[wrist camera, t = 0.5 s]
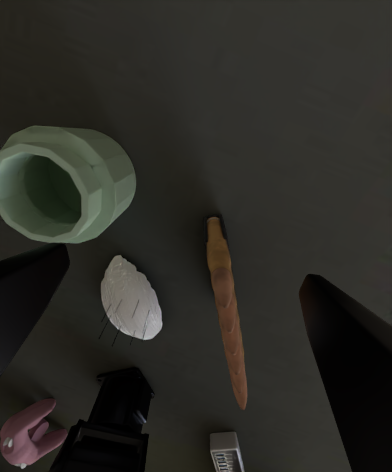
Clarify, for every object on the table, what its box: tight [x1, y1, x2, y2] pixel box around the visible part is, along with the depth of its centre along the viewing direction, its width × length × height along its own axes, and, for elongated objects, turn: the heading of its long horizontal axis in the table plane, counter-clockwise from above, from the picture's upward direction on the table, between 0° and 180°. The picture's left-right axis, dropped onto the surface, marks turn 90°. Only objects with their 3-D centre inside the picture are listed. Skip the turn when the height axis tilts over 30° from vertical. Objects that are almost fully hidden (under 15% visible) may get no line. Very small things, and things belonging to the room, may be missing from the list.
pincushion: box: [99, 255, 162, 346], centre depth 24 cm, size 12×6×6 cm, turn 12°
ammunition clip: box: [203, 214, 247, 410], centre depth 19 cm, size 11×2×12 cm, turn 11°
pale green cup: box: [0, 126, 136, 243], centre depth 17 cm, size 8×8×8 cm
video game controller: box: [0, 398, 67, 469], centre depth 34 cm, size 10×5×7 cm
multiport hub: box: [210, 432, 245, 472], centre depth 39 cm, size 4×14×2 cm, turn 11°
